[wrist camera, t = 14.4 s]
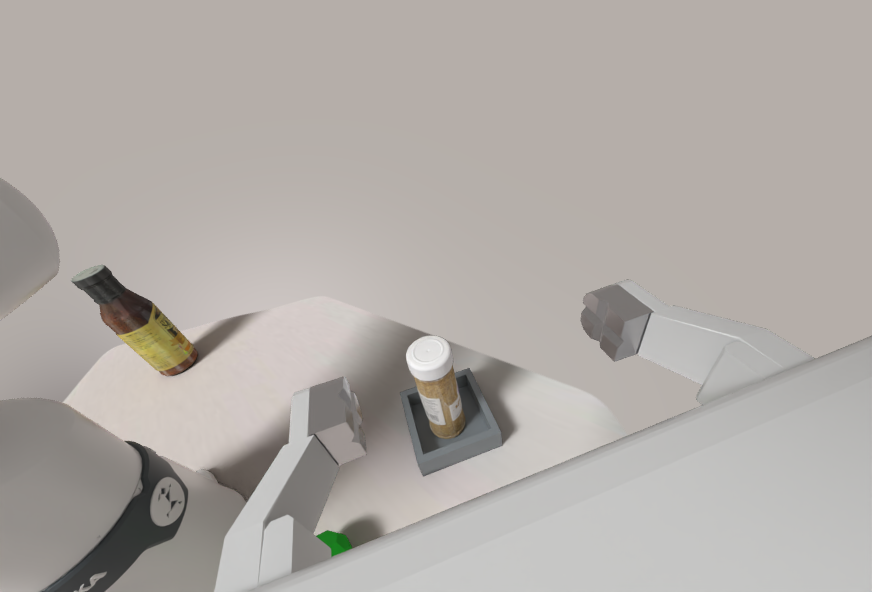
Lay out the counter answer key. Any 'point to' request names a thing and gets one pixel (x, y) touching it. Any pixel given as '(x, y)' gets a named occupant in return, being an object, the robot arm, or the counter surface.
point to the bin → (469, 443)
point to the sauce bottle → (137, 322)
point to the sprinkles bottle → (437, 385)
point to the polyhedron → (335, 542)
